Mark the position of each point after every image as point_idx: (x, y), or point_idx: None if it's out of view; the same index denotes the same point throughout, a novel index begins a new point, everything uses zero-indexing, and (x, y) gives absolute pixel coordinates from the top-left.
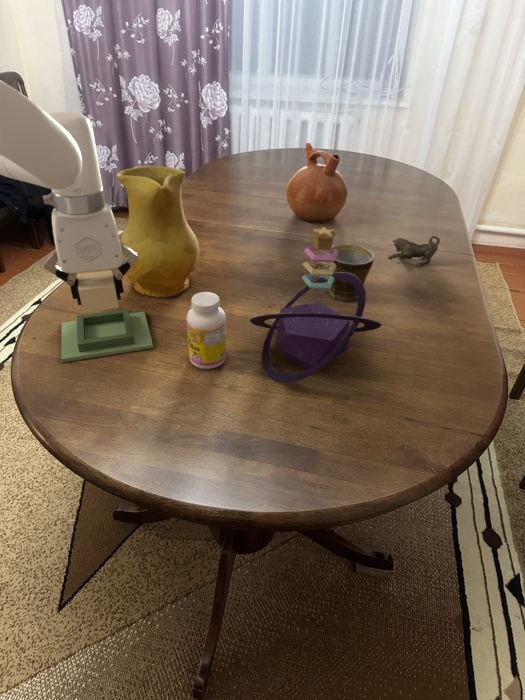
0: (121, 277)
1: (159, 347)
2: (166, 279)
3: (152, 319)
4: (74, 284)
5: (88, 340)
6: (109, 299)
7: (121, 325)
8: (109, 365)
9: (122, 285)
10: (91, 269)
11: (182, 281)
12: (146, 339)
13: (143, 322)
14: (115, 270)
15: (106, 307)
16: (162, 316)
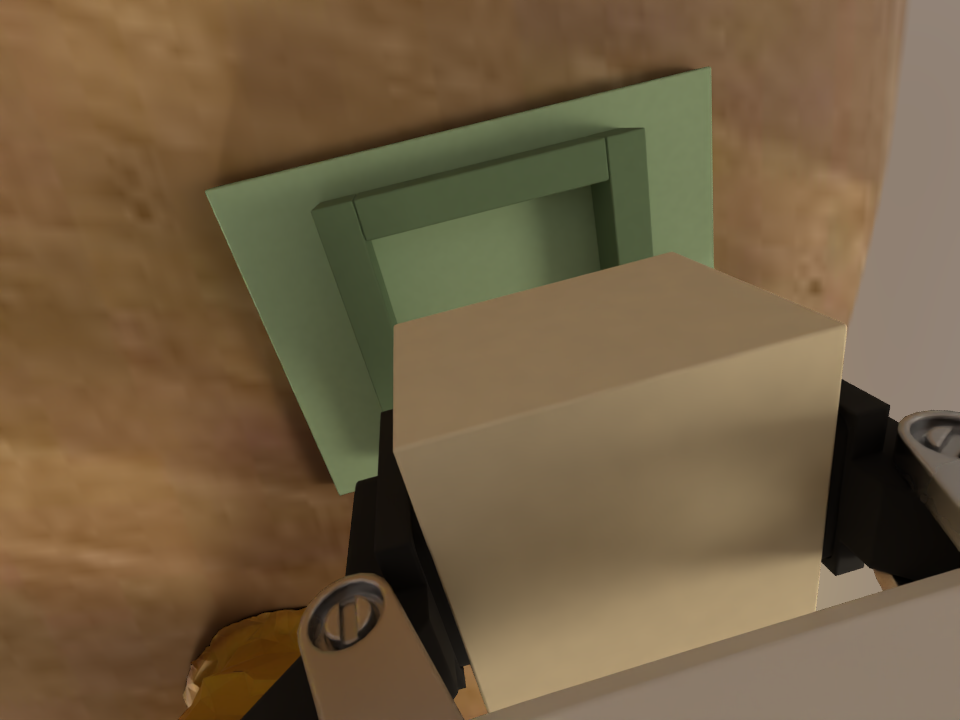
0: (330, 615)
1: (175, 195)
2: (216, 712)
3: (292, 450)
4: (879, 442)
5: (586, 170)
6: (466, 343)
7: None
8: (440, 15)
9: (352, 532)
10: (897, 644)
11: (182, 715)
12: (259, 247)
13: (320, 407)
14: (383, 717)
15: (493, 304)
16: (245, 476)
